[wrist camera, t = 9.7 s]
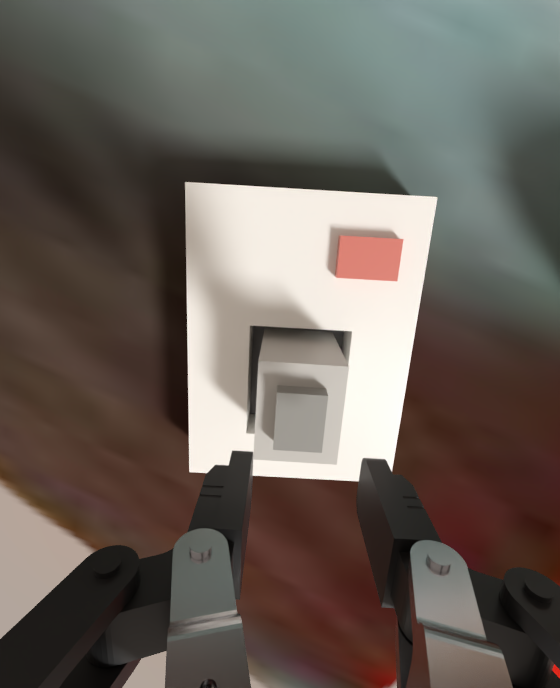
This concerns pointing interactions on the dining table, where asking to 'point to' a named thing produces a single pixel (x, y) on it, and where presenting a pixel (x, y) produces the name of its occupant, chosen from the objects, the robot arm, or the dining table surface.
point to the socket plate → (300, 309)
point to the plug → (299, 396)
